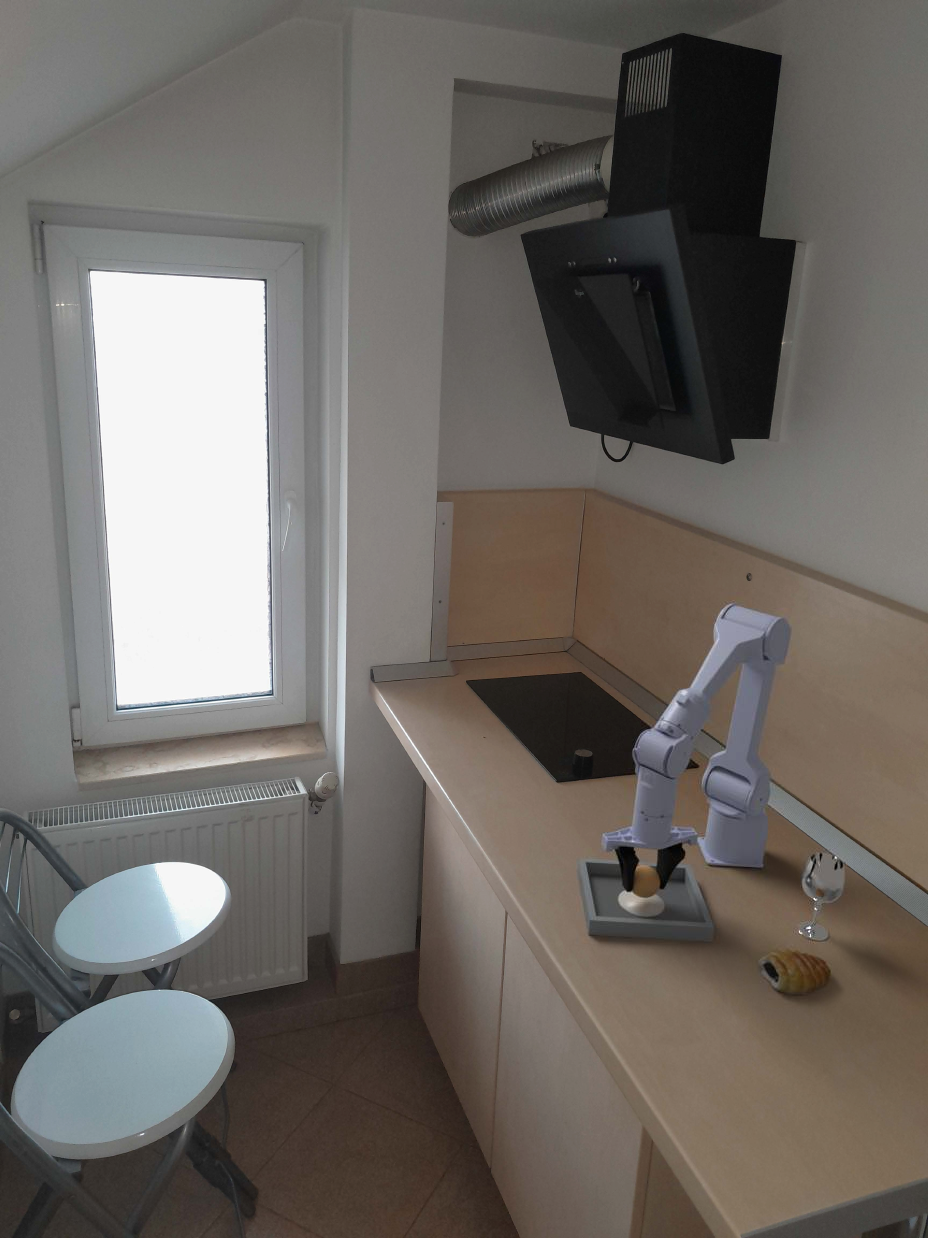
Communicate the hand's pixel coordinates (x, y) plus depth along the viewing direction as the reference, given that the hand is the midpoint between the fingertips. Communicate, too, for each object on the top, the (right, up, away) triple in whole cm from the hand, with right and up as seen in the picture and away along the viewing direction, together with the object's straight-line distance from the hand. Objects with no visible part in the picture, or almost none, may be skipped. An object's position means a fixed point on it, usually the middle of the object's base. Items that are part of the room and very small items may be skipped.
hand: (643, 887), depth 137 cm
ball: (0, +1, 0) cm, 1 cm away
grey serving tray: (0, -3, +1) cm, 3 cm away
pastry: (+18, -9, -13) cm, 24 cm away
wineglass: (+25, -6, -3) cm, 26 cm away
